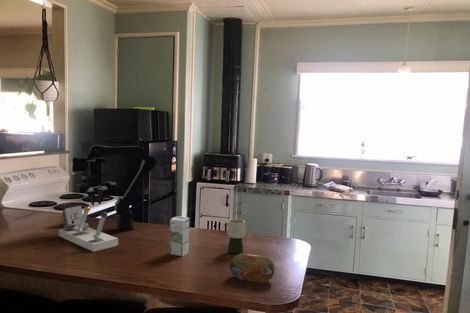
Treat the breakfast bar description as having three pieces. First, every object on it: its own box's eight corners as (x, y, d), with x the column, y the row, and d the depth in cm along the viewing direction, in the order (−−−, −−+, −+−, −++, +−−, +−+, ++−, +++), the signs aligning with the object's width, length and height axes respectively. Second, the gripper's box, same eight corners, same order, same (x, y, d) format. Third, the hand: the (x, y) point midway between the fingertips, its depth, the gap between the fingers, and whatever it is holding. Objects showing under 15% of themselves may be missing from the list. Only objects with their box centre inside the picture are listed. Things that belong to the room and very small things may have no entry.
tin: (229, 277, 118) (229, 253, 117) (232, 274, 121) (233, 250, 120) (272, 285, 112) (273, 260, 112) (275, 281, 115) (276, 256, 115)
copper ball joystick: (80, 232, 153) (88, 206, 156) (83, 233, 151) (92, 207, 154) (74, 231, 151) (83, 205, 154) (77, 232, 149) (86, 206, 152)
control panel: (82, 231, 166) (82, 224, 166) (118, 245, 147) (118, 237, 147) (59, 236, 158) (59, 229, 157) (93, 251, 139) (93, 243, 138)
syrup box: (189, 252, 141) (189, 217, 140) (182, 257, 136) (183, 220, 135) (176, 250, 143) (177, 215, 142) (169, 255, 137) (169, 218, 136)
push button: (85, 226, 161) (85, 222, 161) (89, 228, 158) (89, 224, 158) (78, 228, 158) (78, 224, 158) (82, 230, 156) (82, 225, 155)
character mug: (233, 247, 149) (234, 217, 148) (248, 249, 146) (249, 219, 146) (221, 254, 139) (222, 222, 139) (238, 257, 136) (239, 225, 136)
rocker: (70, 226, 160) (70, 223, 160) (74, 227, 157) (74, 224, 157) (63, 227, 158) (63, 225, 158) (68, 228, 155) (67, 225, 155)
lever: (96, 239, 144) (105, 211, 147) (100, 240, 143) (109, 212, 145) (91, 238, 142) (100, 210, 145) (94, 239, 141) (104, 211, 143)
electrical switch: (68, 227, 171) (67, 209, 171) (61, 227, 174) (60, 208, 174) (84, 223, 180) (83, 205, 179) (77, 223, 182) (76, 205, 182)
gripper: (105, 169, 177) (105, 199, 178) (68, 171, 162) (68, 204, 163) (117, 171, 169) (117, 203, 170) (80, 173, 155) (80, 208, 156)
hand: (96, 204), depth 165 cm, fingers open, 3 cm apart
